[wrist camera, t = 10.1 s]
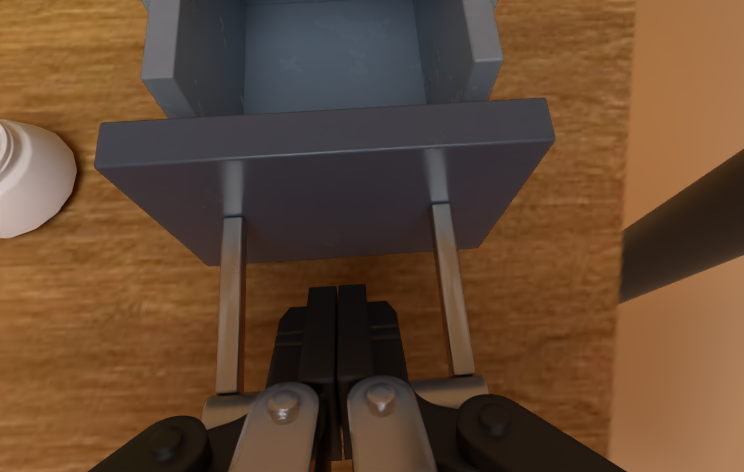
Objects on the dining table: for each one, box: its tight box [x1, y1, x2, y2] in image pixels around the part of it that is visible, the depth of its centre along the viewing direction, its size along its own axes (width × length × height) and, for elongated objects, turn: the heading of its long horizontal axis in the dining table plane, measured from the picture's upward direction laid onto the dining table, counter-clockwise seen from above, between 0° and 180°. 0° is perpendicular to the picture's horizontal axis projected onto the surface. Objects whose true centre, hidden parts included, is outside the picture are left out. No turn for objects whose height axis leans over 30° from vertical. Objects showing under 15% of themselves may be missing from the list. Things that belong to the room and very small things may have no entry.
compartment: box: [94, 0, 555, 445], centre depth 15 cm, size 19×10×8 cm, turn 4°
